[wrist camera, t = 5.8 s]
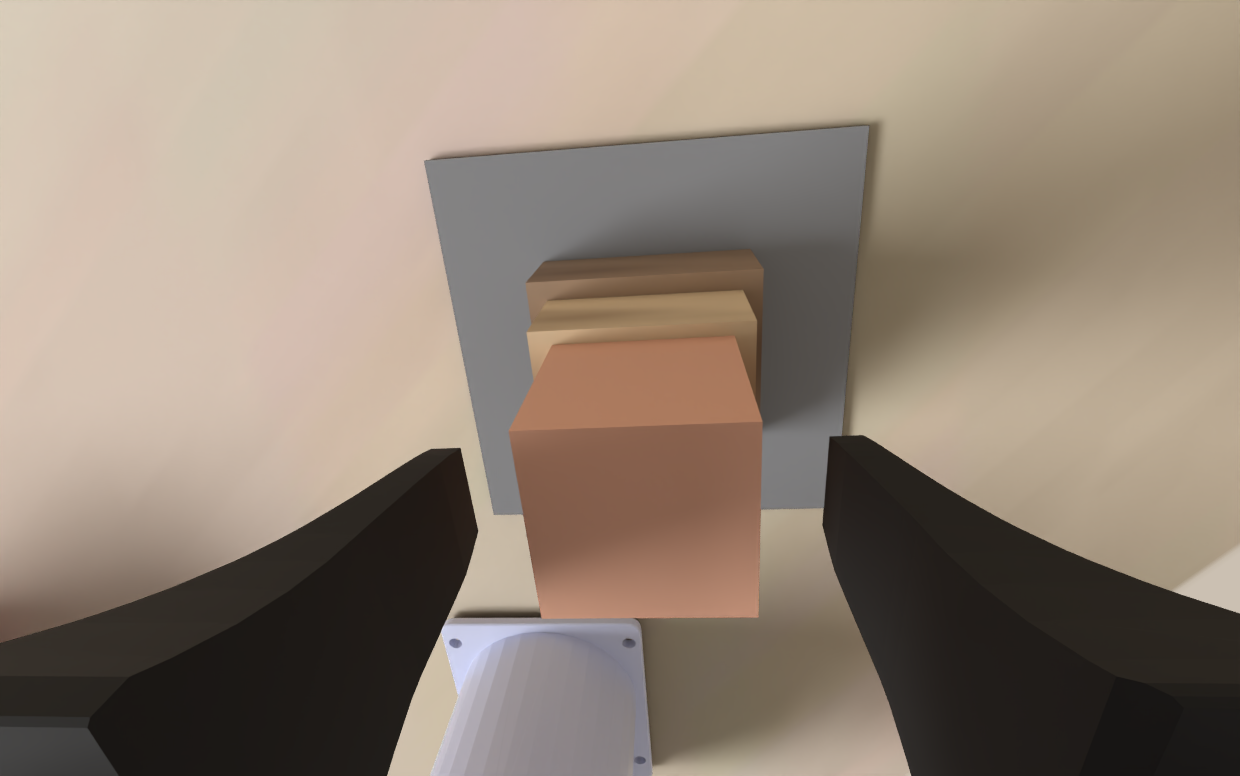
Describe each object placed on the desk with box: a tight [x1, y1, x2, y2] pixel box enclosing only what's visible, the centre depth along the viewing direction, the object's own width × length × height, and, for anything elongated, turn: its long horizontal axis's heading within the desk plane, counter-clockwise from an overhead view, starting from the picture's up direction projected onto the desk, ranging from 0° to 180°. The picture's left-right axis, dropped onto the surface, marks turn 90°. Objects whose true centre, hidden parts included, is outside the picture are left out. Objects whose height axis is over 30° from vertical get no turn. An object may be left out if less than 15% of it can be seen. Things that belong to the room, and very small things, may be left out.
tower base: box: [525, 249, 764, 412], centre depth 17 cm, size 6×6×2 cm
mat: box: [424, 125, 869, 515], centre depth 18 cm, size 12×12×1 cm
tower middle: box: [526, 290, 757, 398], centre depth 15 cm, size 5×5×2 cm
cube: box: [509, 336, 763, 619], centre depth 12 cm, size 4×4×4 cm
